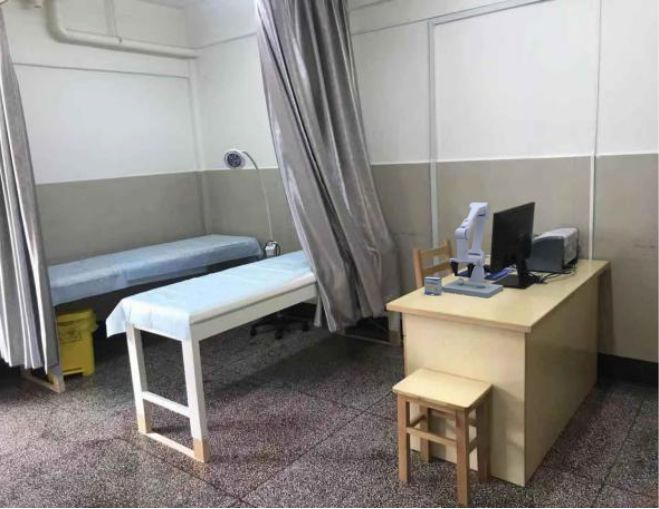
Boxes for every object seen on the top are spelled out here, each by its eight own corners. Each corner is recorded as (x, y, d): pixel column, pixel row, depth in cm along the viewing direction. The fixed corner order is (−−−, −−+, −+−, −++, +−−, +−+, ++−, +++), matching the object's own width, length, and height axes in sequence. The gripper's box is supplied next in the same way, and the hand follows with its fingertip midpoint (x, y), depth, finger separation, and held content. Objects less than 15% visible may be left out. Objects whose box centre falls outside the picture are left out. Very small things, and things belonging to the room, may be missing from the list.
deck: (440, 291, 285) (440, 286, 285) (457, 284, 299) (457, 279, 298) (488, 298, 269) (488, 293, 268) (503, 290, 282) (503, 285, 281)
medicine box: (424, 294, 281) (424, 278, 280) (427, 292, 285) (426, 276, 284) (439, 295, 278) (439, 279, 276) (441, 293, 282) (441, 277, 280)
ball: (459, 280, 290) (462, 275, 287) (463, 284, 288) (466, 280, 286) (455, 282, 288) (457, 278, 285) (459, 287, 286) (462, 282, 284)
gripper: (446, 251, 285) (446, 276, 287) (472, 253, 275) (472, 279, 278) (452, 248, 290) (453, 273, 293) (478, 251, 281) (478, 276, 283)
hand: (462, 276), depth 286 cm, fingers open, 7 cm apart
